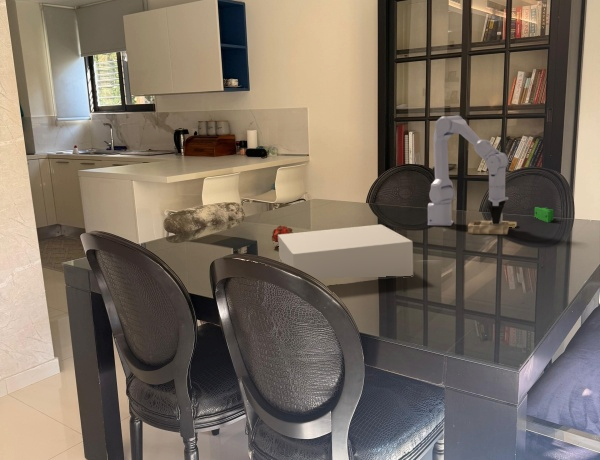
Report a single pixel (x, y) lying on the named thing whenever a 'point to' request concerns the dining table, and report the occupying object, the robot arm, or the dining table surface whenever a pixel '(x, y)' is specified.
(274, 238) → the dragon fruit
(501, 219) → the square bit
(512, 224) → the tan rectangular block
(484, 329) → the dining table surface
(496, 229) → the socket block
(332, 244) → the box
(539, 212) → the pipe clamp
